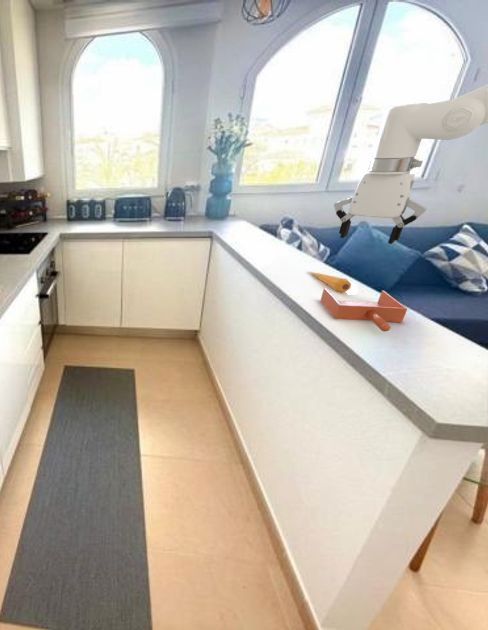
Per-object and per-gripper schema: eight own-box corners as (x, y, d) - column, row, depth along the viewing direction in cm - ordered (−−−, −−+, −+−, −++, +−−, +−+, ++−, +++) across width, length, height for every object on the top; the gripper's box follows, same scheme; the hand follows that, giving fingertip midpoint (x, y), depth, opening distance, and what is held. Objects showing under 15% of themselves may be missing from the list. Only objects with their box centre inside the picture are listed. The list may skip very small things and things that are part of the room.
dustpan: (320, 301, 106) (323, 288, 104) (378, 304, 102) (383, 290, 100) (348, 335, 88) (353, 319, 86) (421, 340, 84) (428, 324, 82)
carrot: (347, 295, 110) (356, 282, 108) (335, 290, 110) (343, 278, 108) (312, 279, 129) (319, 268, 127) (301, 275, 128) (308, 264, 127)
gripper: (446, 164, 75) (415, 241, 82) (349, 165, 87) (331, 232, 95) (439, 167, 71) (408, 248, 78) (339, 167, 83) (321, 237, 91)
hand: (366, 239), depth 87 cm, fingers open, 9 cm apart
